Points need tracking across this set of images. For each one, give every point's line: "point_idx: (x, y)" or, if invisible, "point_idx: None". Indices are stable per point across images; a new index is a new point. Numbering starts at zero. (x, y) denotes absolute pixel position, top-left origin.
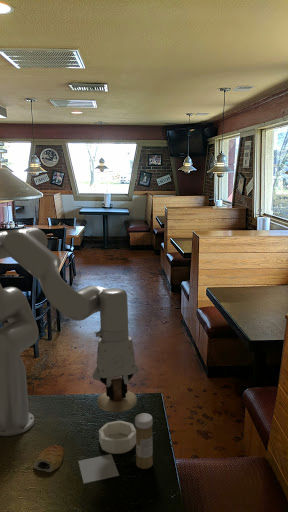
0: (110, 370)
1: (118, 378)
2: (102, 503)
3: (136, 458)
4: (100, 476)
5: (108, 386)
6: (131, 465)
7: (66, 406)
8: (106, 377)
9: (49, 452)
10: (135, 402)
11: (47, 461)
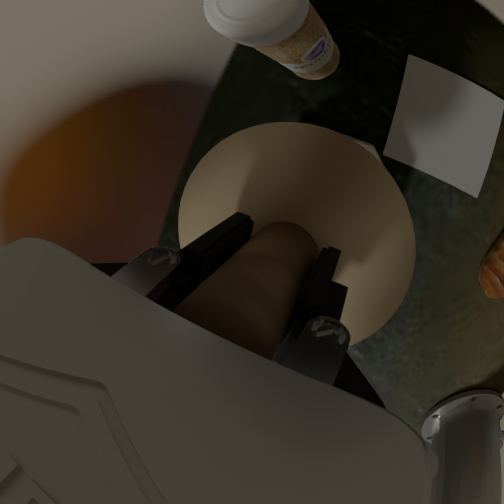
0: (251, 484)
1: None
2: (481, 14)
3: (333, 61)
4: (458, 87)
5: (330, 325)
6: (351, 73)
7: None
8: (371, 403)
9: None
10: (209, 151)
11: None
